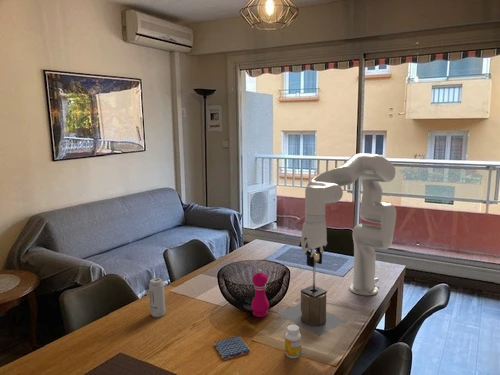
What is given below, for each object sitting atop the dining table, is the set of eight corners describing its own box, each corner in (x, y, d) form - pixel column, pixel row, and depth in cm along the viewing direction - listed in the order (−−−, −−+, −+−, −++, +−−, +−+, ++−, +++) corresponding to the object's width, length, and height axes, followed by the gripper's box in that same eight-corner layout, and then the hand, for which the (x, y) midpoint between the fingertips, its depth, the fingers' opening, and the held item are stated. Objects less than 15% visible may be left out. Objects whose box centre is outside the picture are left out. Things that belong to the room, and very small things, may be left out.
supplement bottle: (283, 349, 135) (283, 323, 134) (299, 348, 136) (299, 323, 134) (286, 359, 130) (286, 332, 128) (302, 358, 130) (302, 331, 129)
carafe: (309, 310, 160) (310, 282, 158) (331, 320, 152) (332, 291, 150) (293, 318, 154) (293, 289, 152) (314, 329, 146) (315, 298, 144)
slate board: (304, 303, 168) (304, 301, 168) (346, 323, 152) (346, 320, 152) (277, 316, 158) (277, 313, 158) (319, 338, 142) (319, 335, 141)
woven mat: (223, 362, 129) (223, 357, 129) (213, 346, 139) (212, 341, 139) (251, 354, 133) (251, 349, 133) (240, 339, 143) (239, 334, 143)
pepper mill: (267, 320, 155) (267, 273, 151) (249, 319, 156) (249, 272, 153) (270, 312, 162) (270, 266, 158) (253, 310, 163) (252, 265, 160)
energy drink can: (147, 314, 161) (145, 280, 158) (160, 309, 165) (158, 276, 163) (156, 319, 157) (154, 284, 154) (168, 314, 161) (166, 280, 159)
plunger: (312, 297, 157) (313, 249, 153) (326, 304, 151) (328, 253, 148) (300, 303, 152) (301, 253, 148) (314, 310, 147) (315, 258, 143)
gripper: (321, 212, 154) (320, 256, 157) (292, 220, 143) (292, 267, 146) (337, 216, 148) (335, 261, 151) (307, 224, 138) (307, 273, 141)
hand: (314, 264), depth 149 cm, fingers closed on plunger, 3 cm apart
